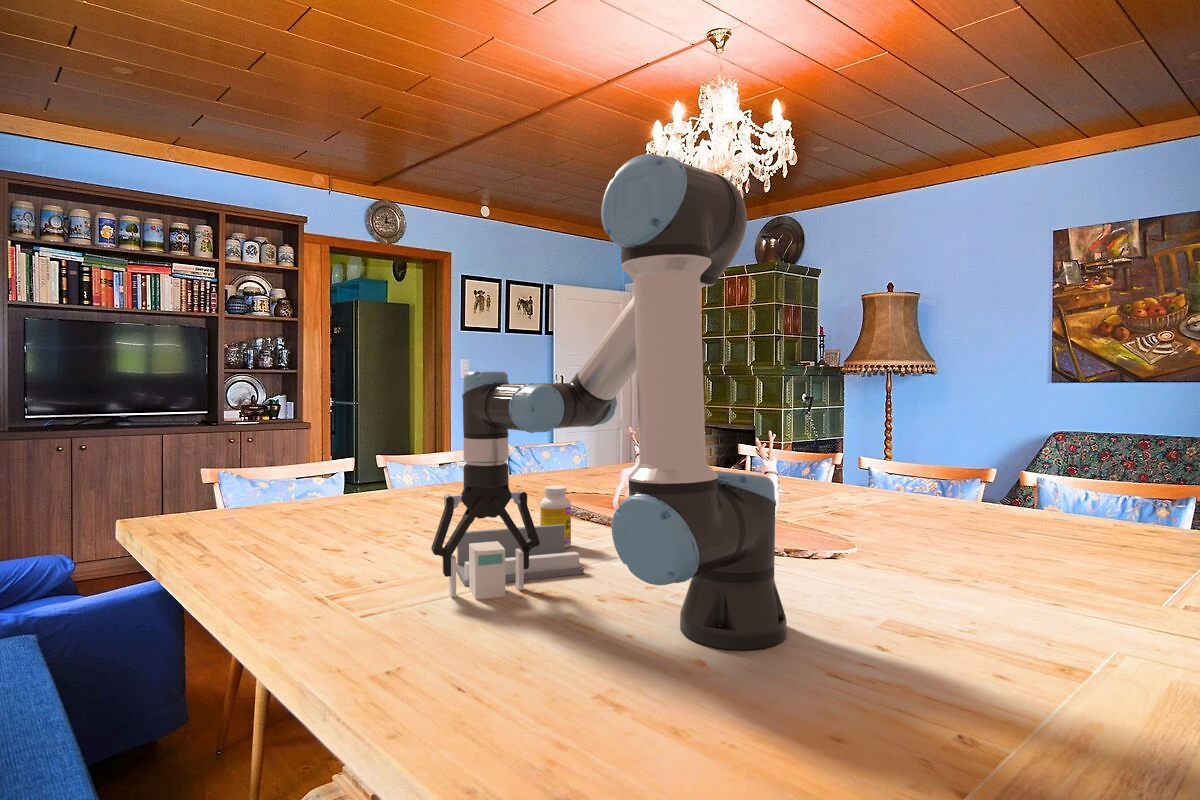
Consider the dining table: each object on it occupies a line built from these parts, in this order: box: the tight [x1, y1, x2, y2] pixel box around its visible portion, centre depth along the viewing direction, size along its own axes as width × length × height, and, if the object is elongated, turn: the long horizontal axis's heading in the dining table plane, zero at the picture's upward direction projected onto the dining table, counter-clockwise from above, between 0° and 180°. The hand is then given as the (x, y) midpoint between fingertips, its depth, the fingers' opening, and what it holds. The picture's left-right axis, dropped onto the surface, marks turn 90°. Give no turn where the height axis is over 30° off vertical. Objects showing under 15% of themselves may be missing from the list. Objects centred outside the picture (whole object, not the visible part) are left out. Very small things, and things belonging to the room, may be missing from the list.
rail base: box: [456, 524, 585, 587], centre depth 134 cm, size 12×22×7 cm, turn 110°
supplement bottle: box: [539, 485, 572, 549], centre depth 153 cm, size 7×7×13 cm
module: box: [468, 541, 506, 600], centre depth 121 cm, size 6×5×8 cm
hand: (486, 591), depth 122 cm, fingers open, 11 cm apart
